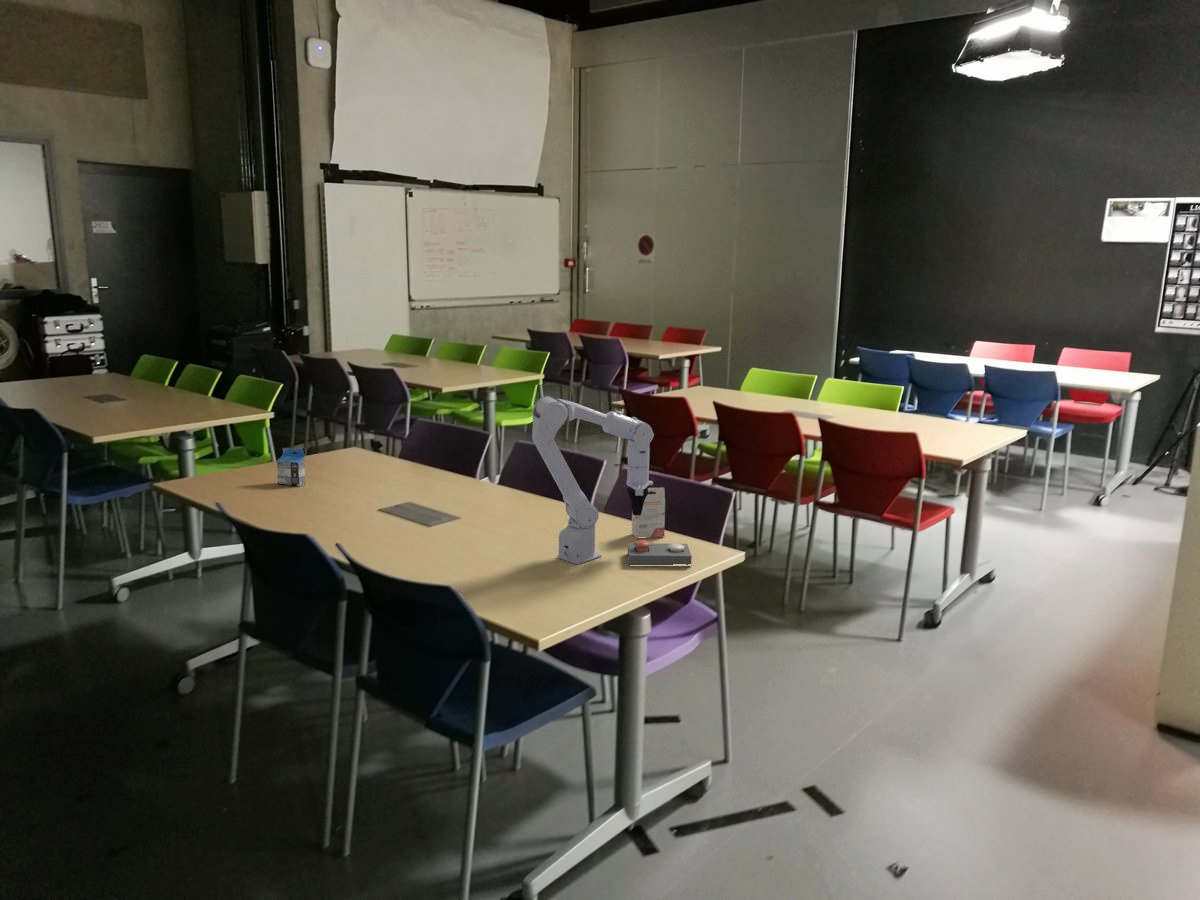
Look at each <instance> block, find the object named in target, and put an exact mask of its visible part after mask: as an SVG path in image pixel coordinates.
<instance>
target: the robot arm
mask: <svg viewBox="0 0 1200 900" xmlns="http://www.w3.org/2000/svg"><path fill="white" fill-rule="evenodd" d="M531 415H532V429H531V430H532V431H531V436H532V437H531V439H532V442H533V443H534V445H535V447H536V450H537V451H538V453H539V455H540V456H541V458H542V460H543V461H544V464H545V465H546V467H547V469H548V471H549V473H550V474H551V477H552V478H553V481H554V482H555V483H556V486H557V487H558V489H559V491H560V493H561V495H562V499H563V501H564V504H565V512H566V514H567V515H568V516H569V519H568V521H567V526H566V527H565V528H563V529H562V530H561V531H560V532H559V534H558V554H557V555H556V558H559V559H561V560H563V561H567V562H570V563H572V564H575V565H579V564H583V563H586V562H589V561H592V560H594V559H597V558H601V557H603V555H602V554H601V553H597V552H596V524H597V521H598V520H599V510H598V508H597V507H596V506H594V505H593V504H591V503H590V501H589V500H588V498H587V496H586V495H585V493H584V492H583V491H582V489H581V488H580V486H579V484H578V482H577V480H576V478H575V476H574V475H573V472H572V471H571V469H570V467H569V465H568V463H567V461H566V459H565V458H564V456H563V454H562V452H561V451H560V448H559V447H558V445H557V443H556V442H555V437H556V435H557V433H558V431H559V430H560V429H561V427H562V426H564V424H565V423H566V421H568V422H571V421H573V420H575V419H579V420H582V421H586V422H589V423H592V424H596V425H599V426H601V428H602V430H603V432H605V433H607V434H610V435H612V436H617V437H619V438H623V439H626V440H628V443H627V445H628V446H627V472H626V473H627V475H626V476H627V477H626V485H627V486H628V487H627V488H626V491H627V494H628V497H629V500H630V504H631V511H632V512H633V515H641V513H642V509H643V504H644V501H645V498H646V496H647V495H648V494H649V492H648V486H653V485H654V481H652V480H649V477H650V471H649V470H650V451H651V450H650V447H651V446H650V443H651V442H652V440H653V439H654V436H655V433H654V432H653V428H652V427H651V426H650V424H648V423H647V422H644V421H642V420H640V419H638V418H637V417H635V416H632V417H629V416H627V415H624V414H623V413H622V411H619V410H617V409H615V411H614V410H613V411H612V410H610V411H609V412H607V413H603V412H600V411H597V410H595V409H592V408H590V407H586V406H584V405H582V404H579V403H577V402H574V401H570V400H566V399H561V398H556V399H555V398H554V397H553V396H549V395H546V396H542V397H540V398H538V399H537V401H536V402H535V404H534V407H533V409H532V411H531ZM632 512H631V513H632Z"/></svg>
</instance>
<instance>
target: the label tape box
mask: <svg viewBox="0 0 1200 900" xmlns="http://www.w3.org/2000/svg"><path fill="white" fill-rule="evenodd" d="M305 463H306V462H305V453H304V449H298V448H289V447H288V448H287V447H282V455H281V456H280V457H279V458H278V459H277V460H276V473H277V474H276V475H277V484H278V483H279V484H288V485H287V486H290V485H295V486H294V487H301V486H300V485H303V484H305V485H306V471H305V470H306V469H305V467H306V466H305ZM279 484H278V485H279ZM303 486H304V485H303Z"/></svg>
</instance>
